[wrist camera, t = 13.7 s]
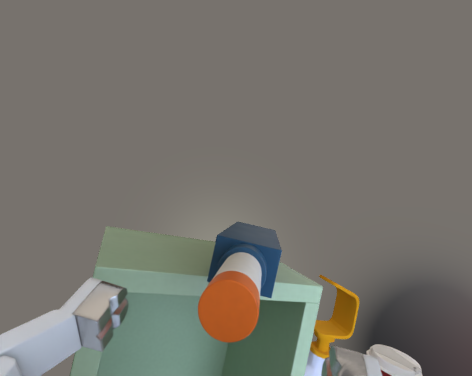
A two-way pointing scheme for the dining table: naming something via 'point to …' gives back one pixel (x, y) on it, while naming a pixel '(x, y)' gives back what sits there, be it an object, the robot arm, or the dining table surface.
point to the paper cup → (394, 361)
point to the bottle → (238, 281)
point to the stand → (192, 315)
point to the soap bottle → (332, 328)
